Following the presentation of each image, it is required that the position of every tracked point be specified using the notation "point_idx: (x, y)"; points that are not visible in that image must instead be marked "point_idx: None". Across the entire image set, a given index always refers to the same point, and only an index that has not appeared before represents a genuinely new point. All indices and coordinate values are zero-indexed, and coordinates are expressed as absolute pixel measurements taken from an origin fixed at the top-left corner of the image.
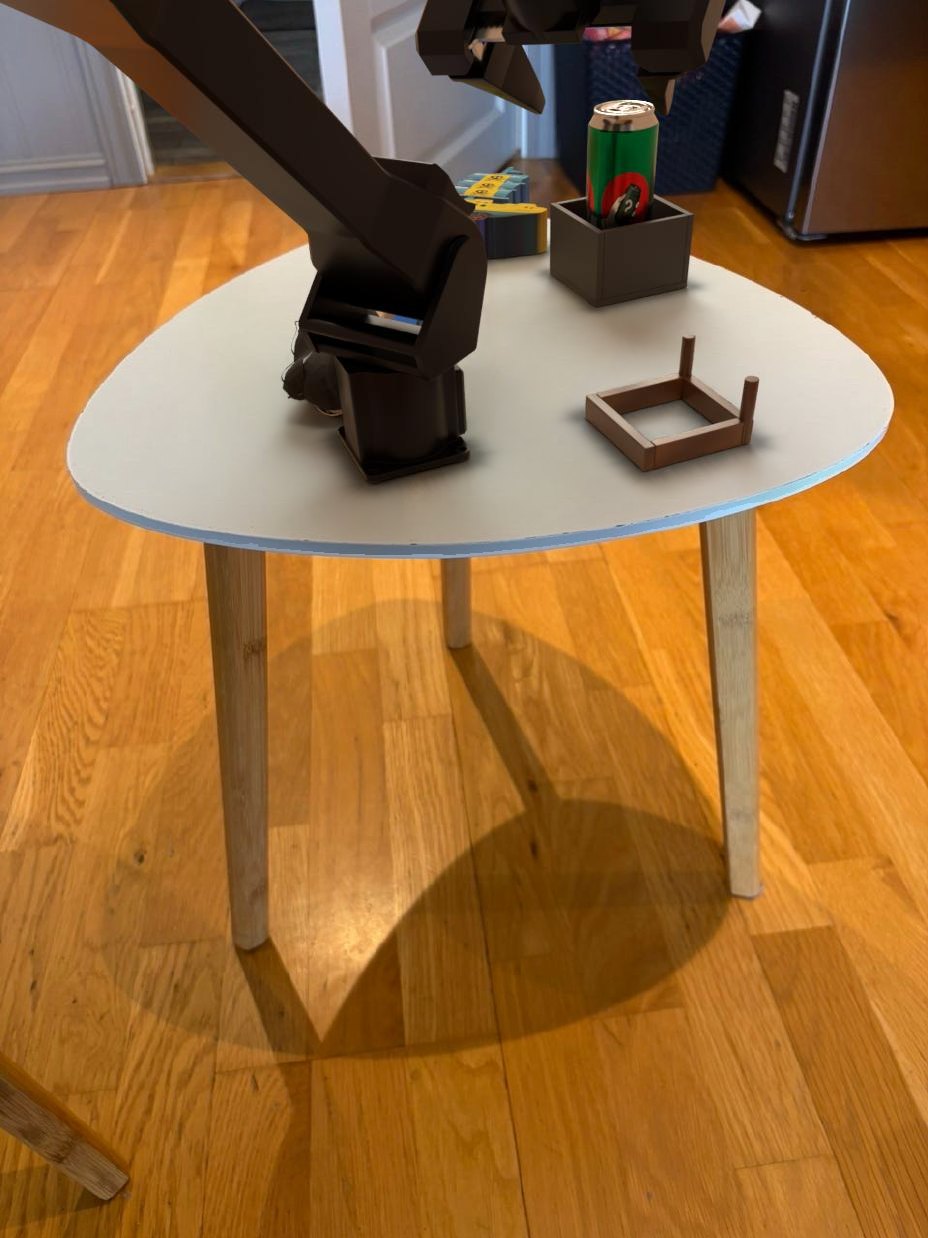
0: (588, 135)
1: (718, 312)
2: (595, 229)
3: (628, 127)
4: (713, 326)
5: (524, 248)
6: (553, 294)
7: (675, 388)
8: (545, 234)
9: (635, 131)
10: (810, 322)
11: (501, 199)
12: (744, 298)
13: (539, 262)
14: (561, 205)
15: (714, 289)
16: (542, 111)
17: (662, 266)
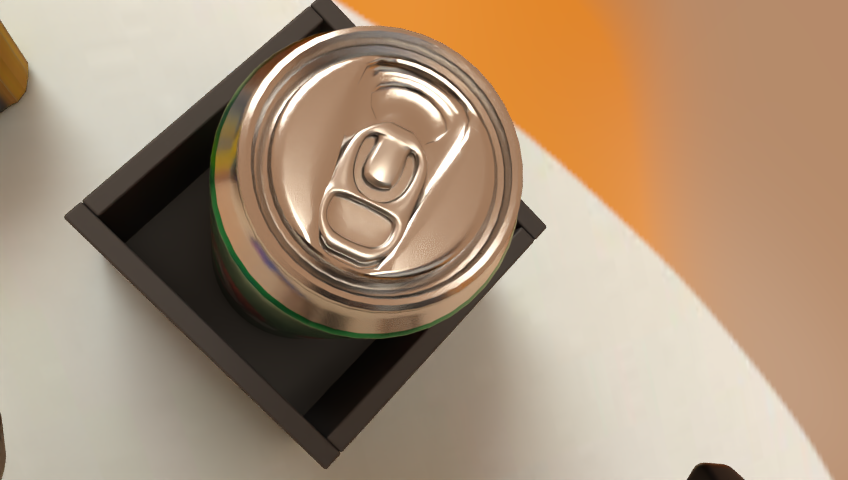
0: (229, 259)
1: (574, 373)
2: (305, 437)
3: (438, 311)
4: (582, 452)
5: None
6: (159, 387)
7: None
8: (16, 64)
9: (462, 304)
10: (745, 367)
11: None
12: (606, 279)
13: (38, 168)
14: (108, 211)
15: (536, 244)
16: (4, 453)
17: None
